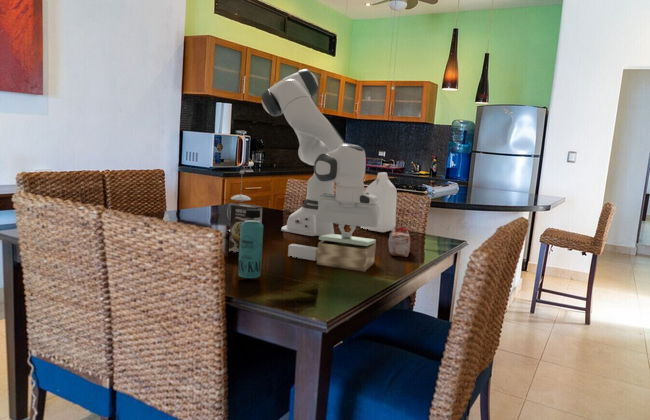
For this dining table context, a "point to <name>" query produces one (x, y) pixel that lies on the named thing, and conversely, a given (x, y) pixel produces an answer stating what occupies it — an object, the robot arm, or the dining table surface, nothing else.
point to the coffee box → (239, 223)
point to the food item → (399, 242)
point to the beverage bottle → (250, 246)
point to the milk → (384, 202)
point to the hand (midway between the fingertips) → (346, 238)
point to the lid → (350, 241)
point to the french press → (238, 197)
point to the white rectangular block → (303, 251)
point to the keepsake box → (345, 255)
